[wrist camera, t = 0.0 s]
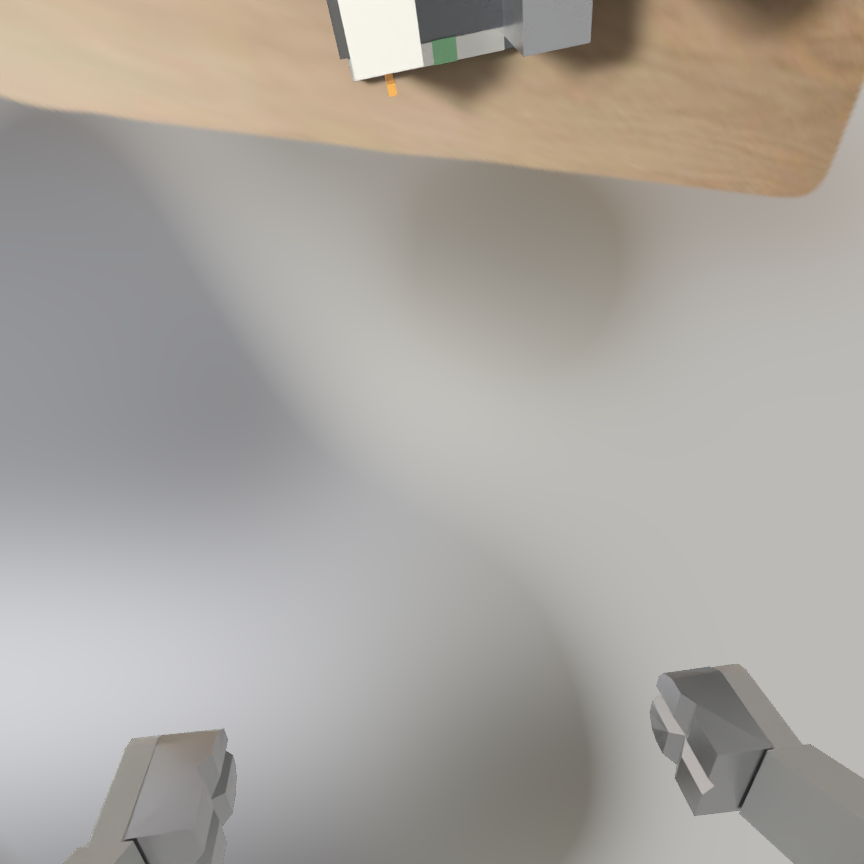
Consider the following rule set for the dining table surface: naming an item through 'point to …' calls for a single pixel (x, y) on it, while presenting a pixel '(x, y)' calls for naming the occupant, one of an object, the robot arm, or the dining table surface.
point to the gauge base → (498, 27)
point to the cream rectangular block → (377, 37)
